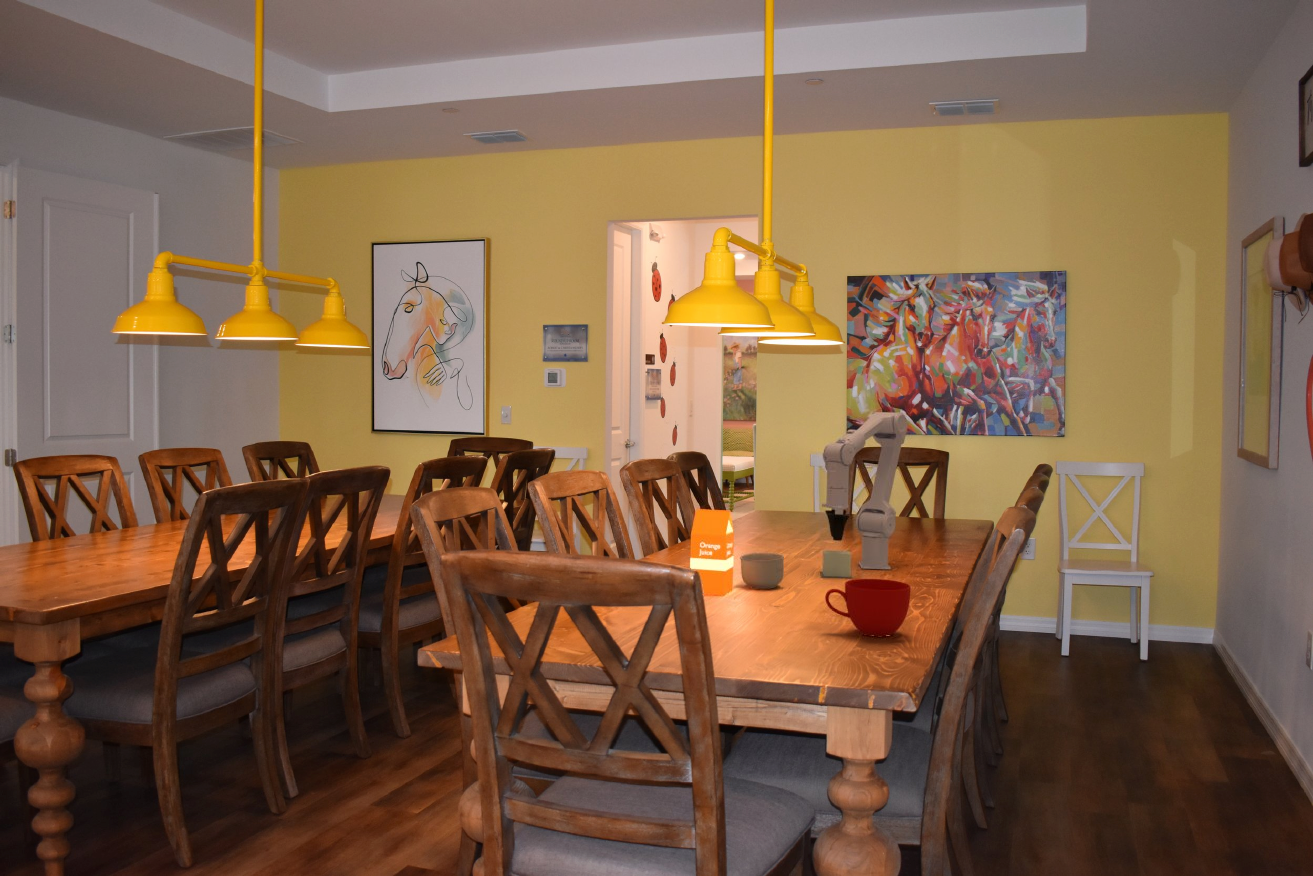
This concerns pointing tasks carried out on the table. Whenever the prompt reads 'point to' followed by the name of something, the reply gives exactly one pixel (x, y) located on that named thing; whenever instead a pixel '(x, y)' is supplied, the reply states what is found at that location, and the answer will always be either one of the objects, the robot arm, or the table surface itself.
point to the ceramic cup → (874, 605)
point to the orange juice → (713, 550)
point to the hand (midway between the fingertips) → (836, 538)
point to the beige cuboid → (836, 563)
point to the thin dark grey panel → (832, 576)
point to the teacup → (762, 569)
